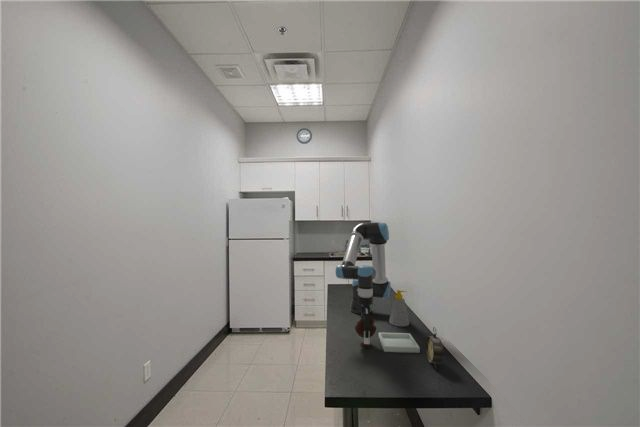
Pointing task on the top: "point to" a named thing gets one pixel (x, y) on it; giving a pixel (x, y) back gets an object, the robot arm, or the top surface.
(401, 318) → the soap bottle
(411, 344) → the tray
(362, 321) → the ice cream bowl
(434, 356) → the alarm clock
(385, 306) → the top surface
